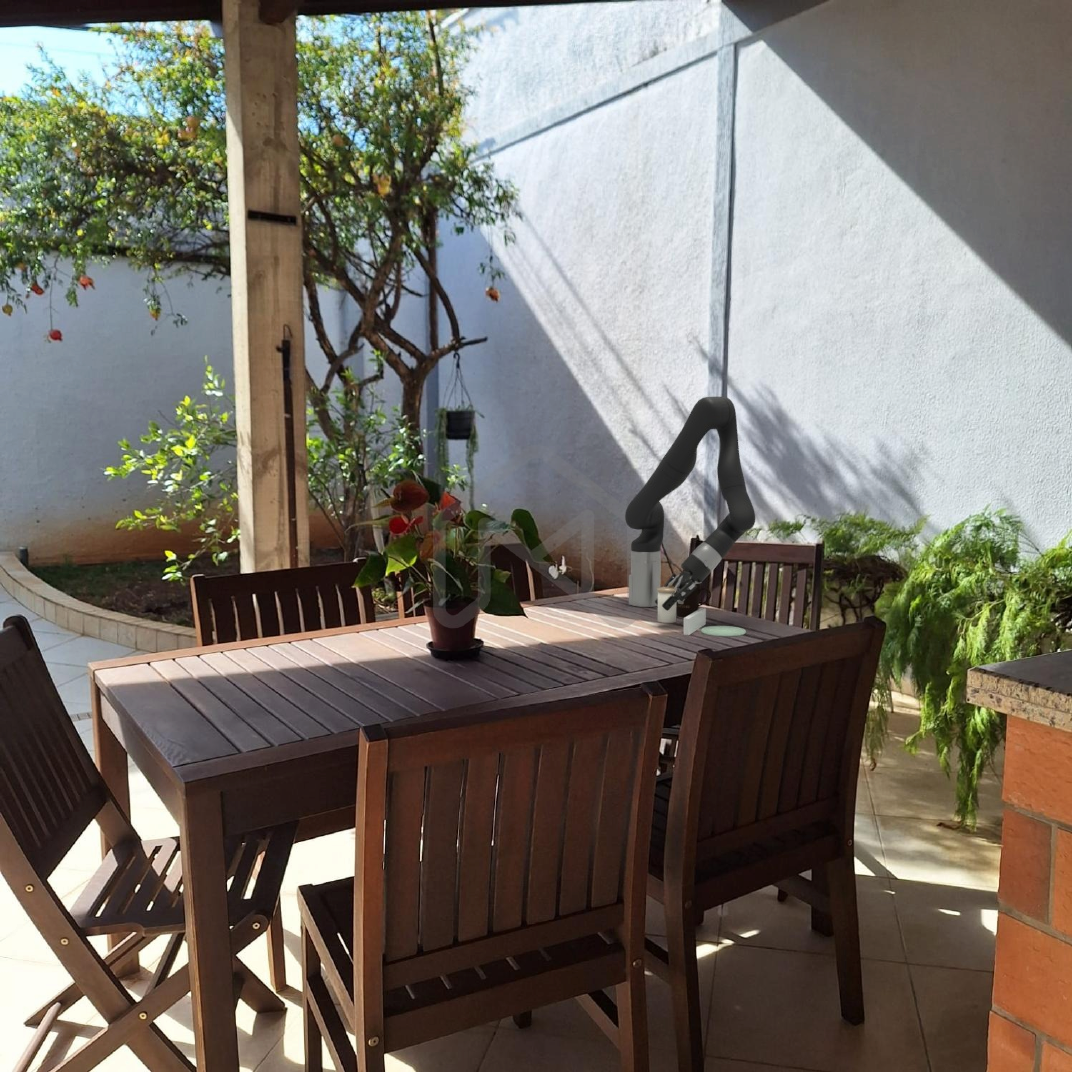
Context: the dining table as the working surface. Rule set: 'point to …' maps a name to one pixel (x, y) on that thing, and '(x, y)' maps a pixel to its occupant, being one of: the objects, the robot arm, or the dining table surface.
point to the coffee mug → (691, 602)
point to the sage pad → (723, 631)
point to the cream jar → (662, 613)
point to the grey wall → (694, 621)
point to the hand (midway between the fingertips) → (660, 606)
